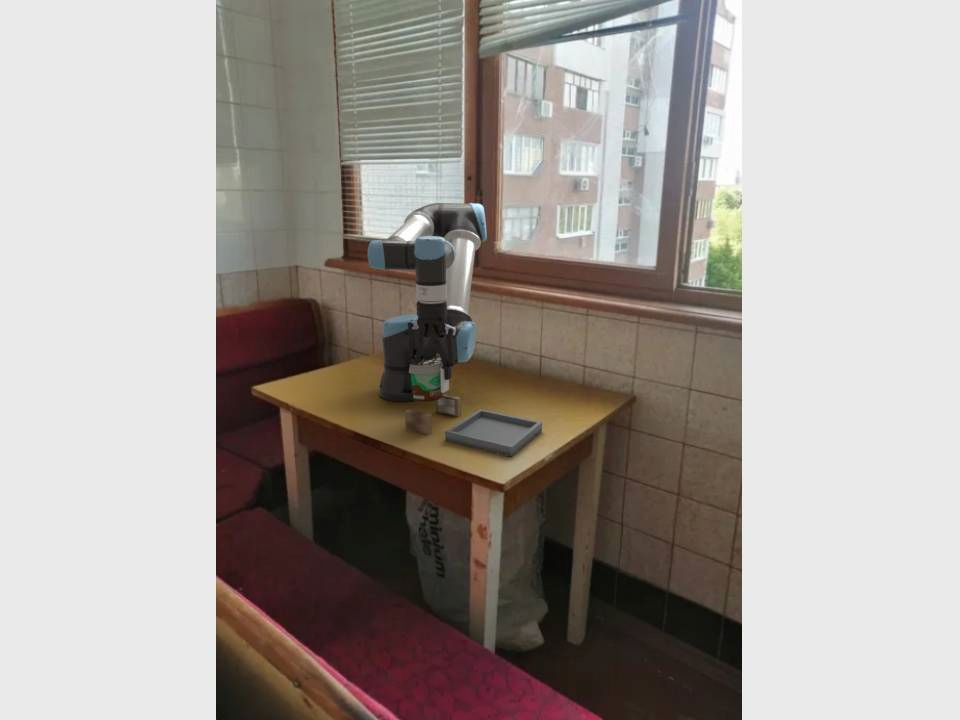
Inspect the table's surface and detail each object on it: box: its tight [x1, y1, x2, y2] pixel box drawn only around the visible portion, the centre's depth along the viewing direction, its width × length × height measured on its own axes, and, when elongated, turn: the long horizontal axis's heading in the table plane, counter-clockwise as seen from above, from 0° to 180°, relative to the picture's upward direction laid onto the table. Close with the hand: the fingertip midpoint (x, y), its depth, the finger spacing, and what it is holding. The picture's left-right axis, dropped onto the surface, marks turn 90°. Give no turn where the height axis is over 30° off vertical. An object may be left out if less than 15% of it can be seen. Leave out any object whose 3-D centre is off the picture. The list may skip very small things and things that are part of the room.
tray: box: [444, 408, 543, 458], centre depth 145 cm, size 18×17×2 cm
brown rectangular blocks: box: [404, 393, 462, 436], centre depth 153 cm, size 7×16×5 cm, turn 150°
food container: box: [409, 354, 444, 403], centre depth 151 cm, size 12×6×10 cm, turn 148°
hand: (433, 388), depth 152 cm, fingers closed on food container, 6 cm apart
